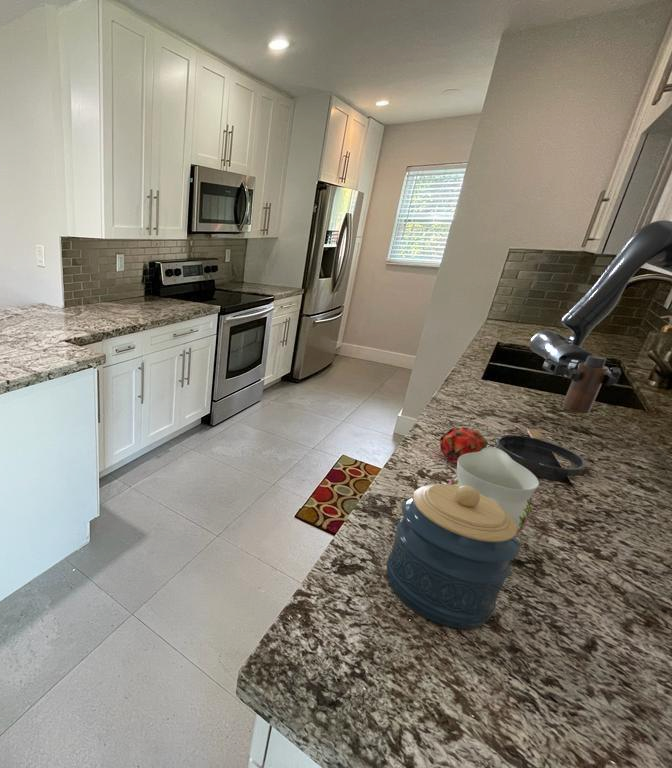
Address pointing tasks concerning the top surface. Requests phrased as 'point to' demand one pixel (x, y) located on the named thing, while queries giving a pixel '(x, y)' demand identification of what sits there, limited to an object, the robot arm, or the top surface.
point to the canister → (452, 555)
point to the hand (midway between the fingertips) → (593, 379)
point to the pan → (540, 456)
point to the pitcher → (498, 481)
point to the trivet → (537, 435)
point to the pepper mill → (586, 385)
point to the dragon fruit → (461, 443)
